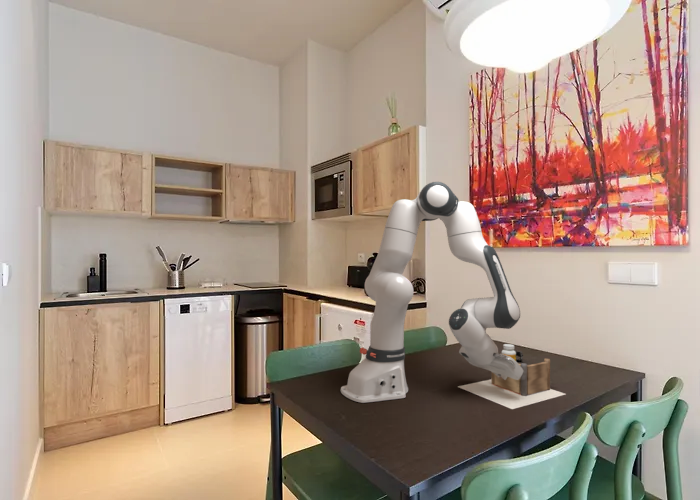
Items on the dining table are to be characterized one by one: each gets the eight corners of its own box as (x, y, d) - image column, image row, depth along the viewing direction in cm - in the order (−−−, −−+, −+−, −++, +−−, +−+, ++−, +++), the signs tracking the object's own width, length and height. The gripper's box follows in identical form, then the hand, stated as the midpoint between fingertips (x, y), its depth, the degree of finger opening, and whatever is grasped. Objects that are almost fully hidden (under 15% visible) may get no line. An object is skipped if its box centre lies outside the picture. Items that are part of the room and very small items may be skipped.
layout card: (512, 410, 117) (512, 409, 117) (457, 387, 136) (457, 386, 136) (566, 395, 130) (566, 394, 130) (509, 376, 149) (509, 375, 149)
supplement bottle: (499, 367, 160) (499, 343, 160) (512, 367, 161) (512, 343, 161) (504, 371, 155) (504, 346, 155) (518, 371, 155) (518, 346, 155)
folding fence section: (490, 382, 139) (490, 354, 139) (493, 382, 140) (494, 353, 140) (518, 393, 129) (518, 362, 129) (522, 392, 130) (522, 361, 130)
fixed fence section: (524, 396, 128) (524, 364, 128) (519, 394, 129) (519, 363, 129) (551, 389, 134) (551, 359, 134) (546, 387, 136) (546, 358, 136)
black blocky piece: (534, 362, 171) (534, 351, 171) (529, 366, 165) (529, 354, 165) (504, 357, 178) (504, 346, 178) (498, 360, 173) (498, 350, 173)
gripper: (515, 349, 122) (535, 378, 126) (464, 336, 139) (484, 362, 144) (504, 366, 119) (525, 394, 124) (455, 351, 137) (475, 376, 142)
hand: (503, 377), depth 134 cm, fingers closed
